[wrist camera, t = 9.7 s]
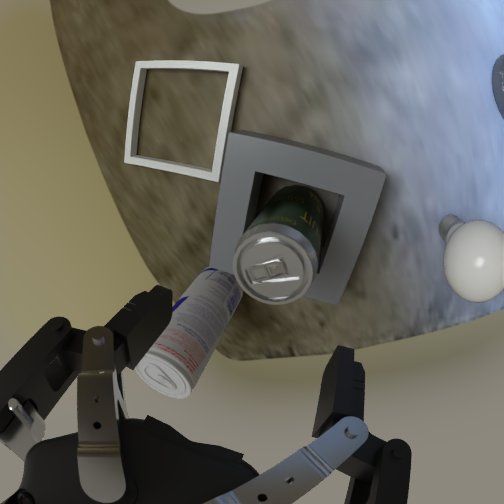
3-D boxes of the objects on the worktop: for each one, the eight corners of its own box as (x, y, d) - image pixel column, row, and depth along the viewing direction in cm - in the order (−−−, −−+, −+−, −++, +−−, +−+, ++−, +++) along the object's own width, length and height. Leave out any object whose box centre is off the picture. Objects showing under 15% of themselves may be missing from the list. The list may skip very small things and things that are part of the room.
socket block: (378, 166, 24) (386, 174, 20) (338, 283, 30) (337, 305, 26) (243, 130, 26) (228, 132, 22) (223, 249, 32) (209, 266, 28)
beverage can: (199, 259, 33) (124, 344, 20) (246, 269, 32) (188, 368, 19) (200, 298, 36) (137, 385, 23) (242, 308, 35) (193, 407, 22)
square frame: (243, 66, 23) (239, 64, 22) (222, 179, 28) (218, 182, 27) (142, 62, 24) (135, 61, 23) (130, 160, 30) (124, 162, 29)
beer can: (281, 242, 30) (249, 314, 19) (261, 193, 28) (214, 243, 18) (331, 227, 27) (327, 298, 17) (313, 176, 26) (298, 217, 15)
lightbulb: (483, 219, 22) (537, 271, 13) (447, 264, 25) (484, 331, 16) (445, 181, 22) (500, 220, 13) (408, 231, 25) (441, 293, 16)
